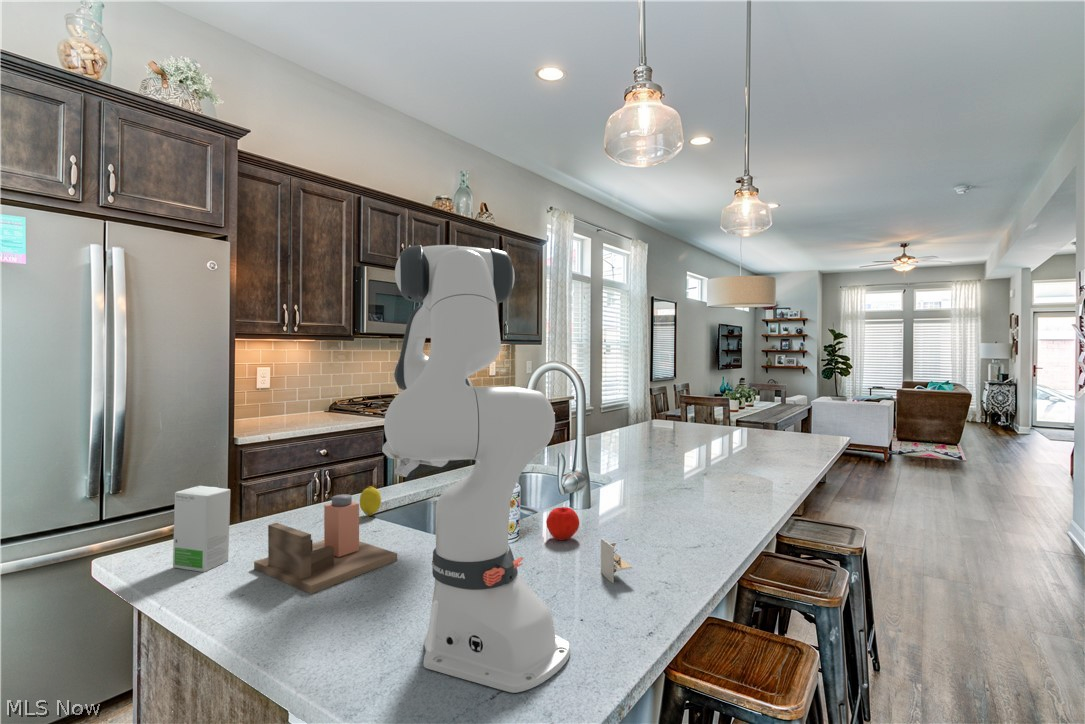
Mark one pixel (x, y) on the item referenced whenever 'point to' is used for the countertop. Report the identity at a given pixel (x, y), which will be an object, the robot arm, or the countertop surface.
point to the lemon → (370, 500)
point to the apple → (562, 523)
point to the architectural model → (611, 560)
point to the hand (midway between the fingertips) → (399, 474)
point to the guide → (315, 560)
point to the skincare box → (201, 528)
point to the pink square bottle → (341, 525)
